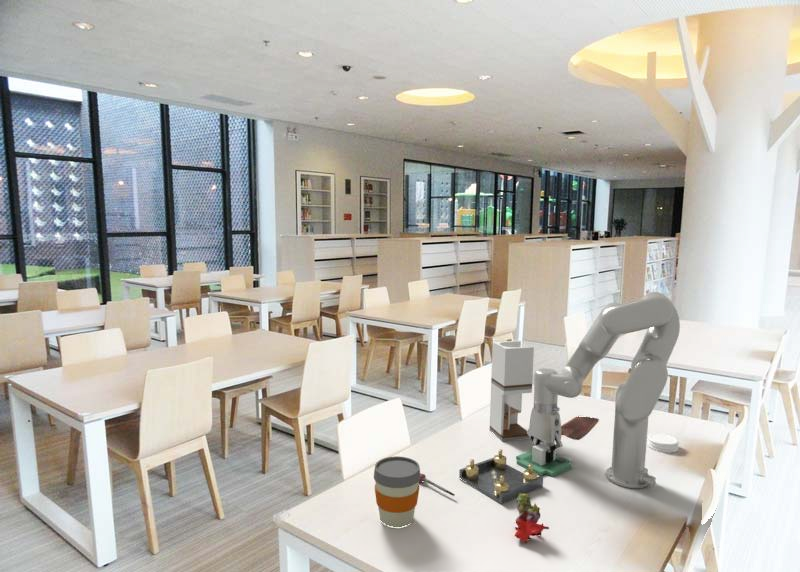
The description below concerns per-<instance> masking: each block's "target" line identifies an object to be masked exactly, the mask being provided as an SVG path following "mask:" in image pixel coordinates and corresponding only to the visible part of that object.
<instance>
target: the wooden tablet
mask: <svg viewBox="0 0 800 572" xmlns="http://www.w3.org/2000/svg"><path fill="white" fill-rule="evenodd" d="M579 416H580V415H578V417H577V416H575V417H573V418H572V419H569V420H568V421H567V422H565V423H563V424H561V436H565V437H566V438H569V439H572V440H579V439H581V438H583V436H585V435H586V434H587V433H588V432H589V431H590V430H591V429H592V428H593V427H594V426H595V425H596V424H597V423H598V422H599V418H597V417H592V418H590V417H591V416H586V417H579Z"/></svg>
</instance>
